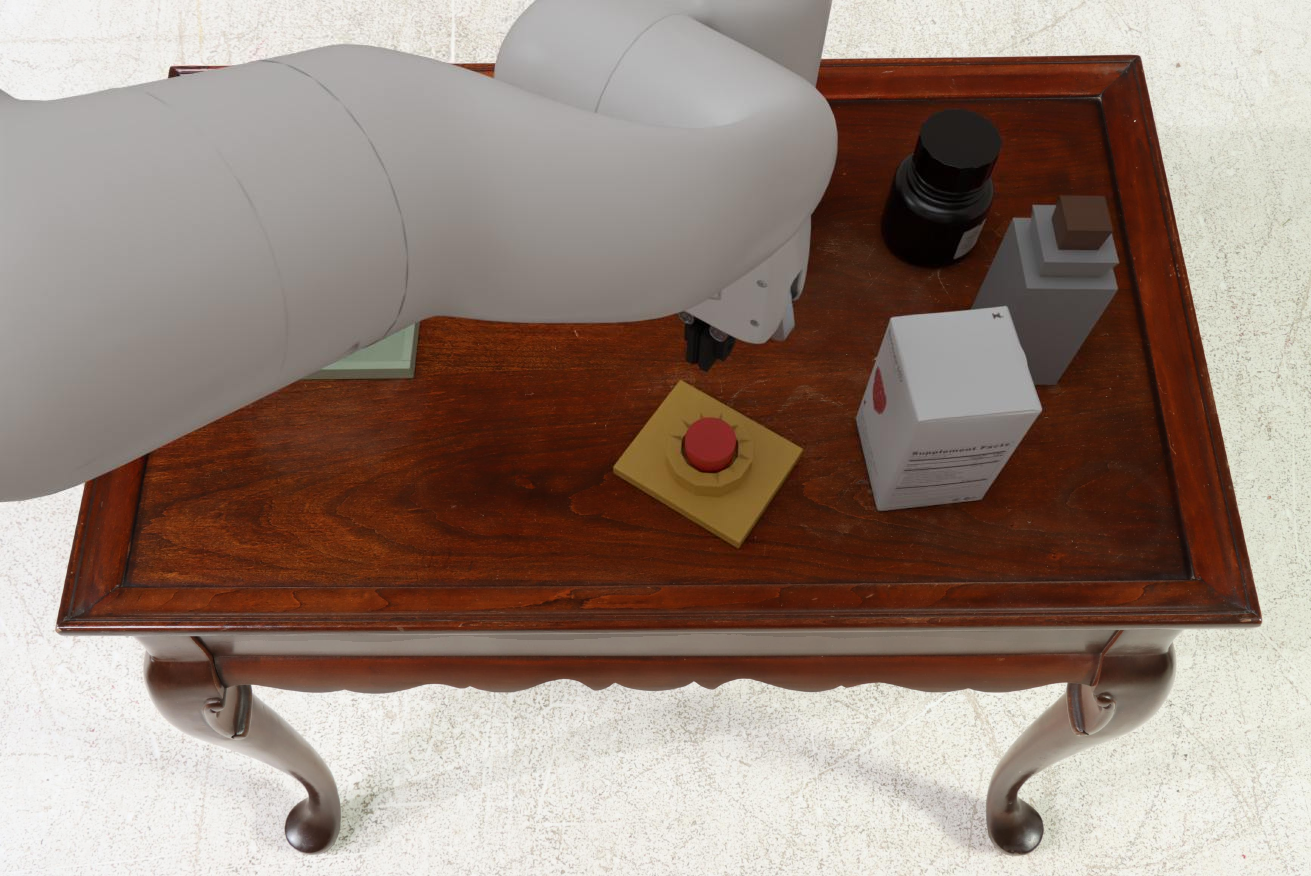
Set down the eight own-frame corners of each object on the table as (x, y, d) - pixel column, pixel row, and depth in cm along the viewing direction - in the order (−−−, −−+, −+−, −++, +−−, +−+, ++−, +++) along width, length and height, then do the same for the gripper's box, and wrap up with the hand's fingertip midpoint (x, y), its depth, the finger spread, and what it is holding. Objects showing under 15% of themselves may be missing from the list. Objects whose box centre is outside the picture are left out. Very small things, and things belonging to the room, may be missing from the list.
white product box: (852, 416, 87) (887, 311, 73) (956, 406, 87) (1010, 300, 74) (874, 514, 82) (916, 422, 69) (984, 503, 83) (1046, 409, 70)
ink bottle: (980, 275, 94) (1022, 183, 83) (883, 272, 94) (912, 180, 83) (968, 193, 98) (1006, 97, 88) (876, 191, 98) (903, 94, 88)
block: (738, 549, 81) (741, 534, 78) (613, 473, 84) (611, 456, 81) (802, 455, 85) (806, 438, 82) (679, 386, 88) (680, 367, 85)
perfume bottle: (1055, 385, 88) (1143, 250, 72) (976, 384, 88) (1047, 249, 72) (1042, 320, 91) (1123, 178, 76) (966, 319, 91) (1031, 177, 76)
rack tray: (413, 378, 88) (409, 368, 87) (203, 380, 88) (195, 370, 87) (441, 137, 102) (438, 125, 100) (258, 139, 101) (252, 127, 100)
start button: (717, 480, 81) (718, 470, 79) (674, 455, 82) (675, 445, 80) (744, 443, 82) (745, 433, 81) (701, 419, 83) (702, 408, 82)
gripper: (568, 135, 53) (584, 338, 69) (820, 263, 49) (776, 448, 65) (649, 53, 56) (647, 266, 72) (892, 168, 53) (833, 366, 69)
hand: (708, 352), depth 69 cm, fingers closed
